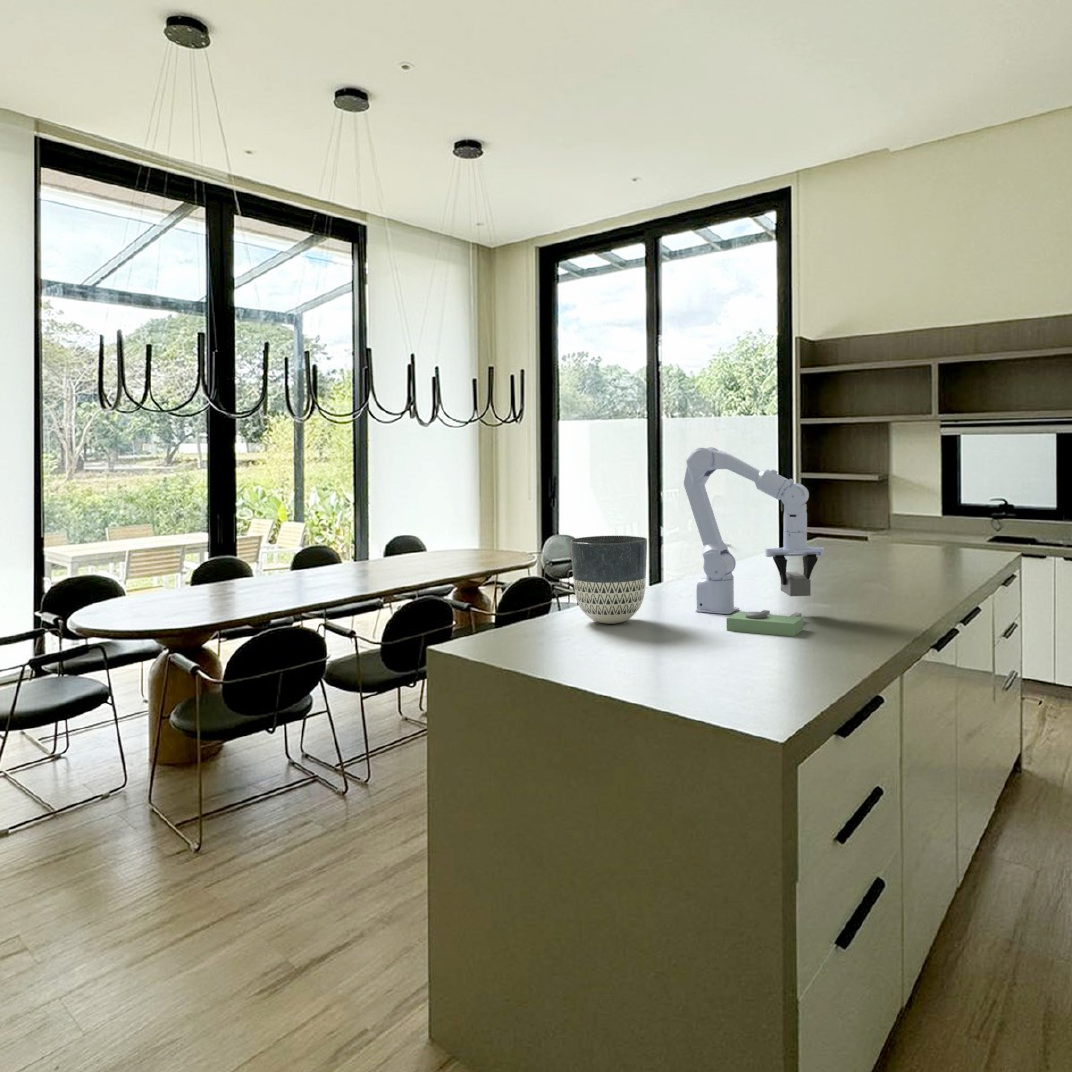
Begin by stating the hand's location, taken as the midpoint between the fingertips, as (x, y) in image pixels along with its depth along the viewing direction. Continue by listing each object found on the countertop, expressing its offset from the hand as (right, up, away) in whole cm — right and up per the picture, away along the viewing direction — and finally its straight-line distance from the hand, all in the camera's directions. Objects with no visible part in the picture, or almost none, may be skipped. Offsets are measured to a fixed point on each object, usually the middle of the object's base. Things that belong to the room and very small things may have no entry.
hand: (794, 584), depth 212 cm
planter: (-47, -10, 0) cm, 48 cm away
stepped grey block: (0, -2, 0) cm, 2 cm away
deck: (-9, -10, -10) cm, 17 cm away
